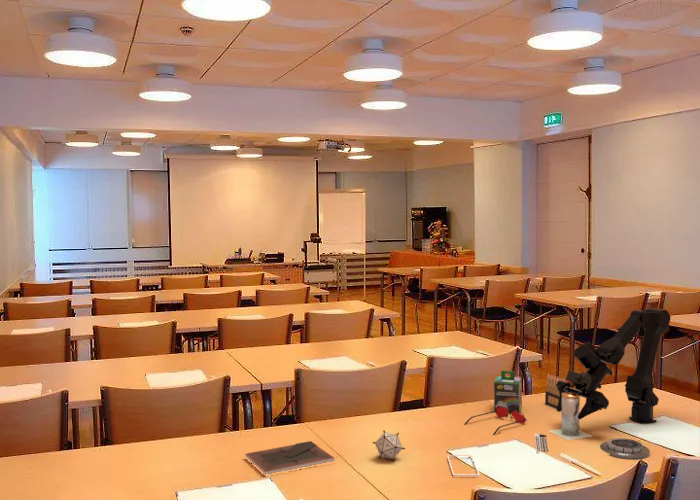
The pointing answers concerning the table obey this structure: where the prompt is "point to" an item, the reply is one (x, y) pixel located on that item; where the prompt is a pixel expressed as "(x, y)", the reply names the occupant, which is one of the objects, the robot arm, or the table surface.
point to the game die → (388, 445)
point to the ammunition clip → (552, 391)
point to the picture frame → (289, 457)
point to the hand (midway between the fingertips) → (567, 414)
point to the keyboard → (538, 445)
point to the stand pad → (581, 435)
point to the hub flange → (625, 448)
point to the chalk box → (508, 392)
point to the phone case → (462, 474)
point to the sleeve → (570, 413)
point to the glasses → (504, 413)
